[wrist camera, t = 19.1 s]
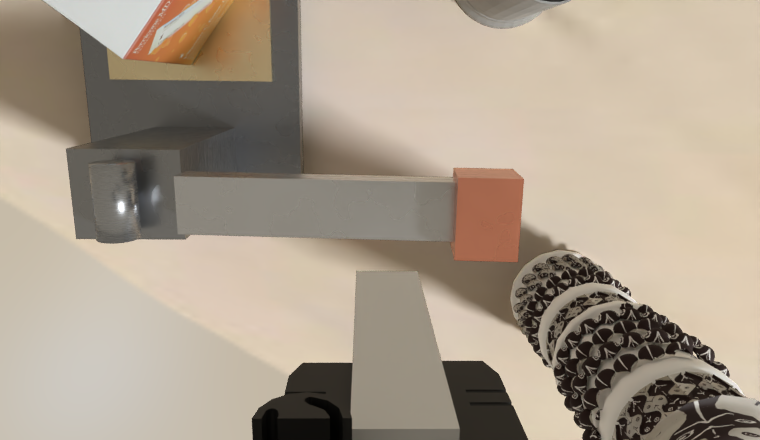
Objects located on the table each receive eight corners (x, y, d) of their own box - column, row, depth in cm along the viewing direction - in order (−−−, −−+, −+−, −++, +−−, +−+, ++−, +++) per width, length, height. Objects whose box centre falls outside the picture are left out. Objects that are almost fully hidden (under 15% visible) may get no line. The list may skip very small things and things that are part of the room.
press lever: (101, 159, 31) (65, 169, 28) (511, 168, 30) (523, 179, 27) (109, 231, 32) (74, 249, 29) (506, 242, 31) (517, 262, 28)
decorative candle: (489, 326, 52) (601, 548, 28) (529, 231, 50) (689, 379, 26) (582, 357, 53) (770, 596, 28) (626, 264, 51) (868, 437, 26)
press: (80, -90, 43) (-81, -184, 27) (298, -85, 43) (263, -174, 28) (109, 203, 48) (-12, 264, 33) (303, 205, 49) (276, 265, 33)
